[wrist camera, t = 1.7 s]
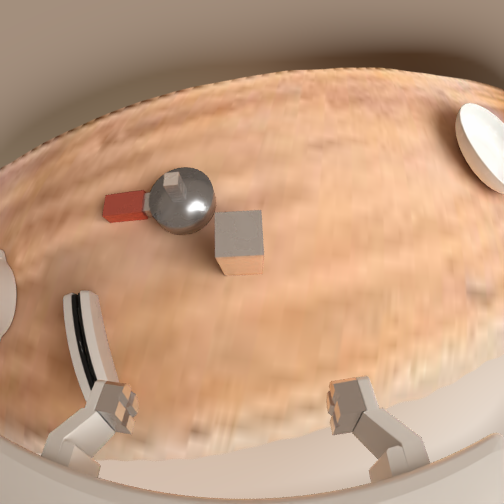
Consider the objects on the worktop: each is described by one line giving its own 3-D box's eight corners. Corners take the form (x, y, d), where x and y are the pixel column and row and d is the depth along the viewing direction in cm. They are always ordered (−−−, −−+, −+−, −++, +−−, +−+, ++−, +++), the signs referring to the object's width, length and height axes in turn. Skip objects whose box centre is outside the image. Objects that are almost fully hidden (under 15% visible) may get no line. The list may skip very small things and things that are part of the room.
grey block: (225, 275, 37) (215, 257, 28) (224, 240, 38) (214, 212, 30) (262, 273, 37) (263, 254, 28) (260, 238, 38) (261, 210, 30)
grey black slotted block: (72, 302, 36) (49, 284, 27) (100, 296, 38) (83, 277, 29) (99, 411, 32) (82, 425, 23) (129, 406, 33) (119, 419, 25)
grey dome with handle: (108, 240, 39) (82, 221, 31) (115, 186, 41) (94, 162, 34) (216, 233, 38) (206, 209, 31) (216, 175, 41) (208, 145, 34)
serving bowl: (506, 226, 38) (527, 213, 32) (433, 155, 42) (451, 134, 36) (515, 165, 42) (530, 151, 36) (454, 107, 46) (466, 89, 40)
